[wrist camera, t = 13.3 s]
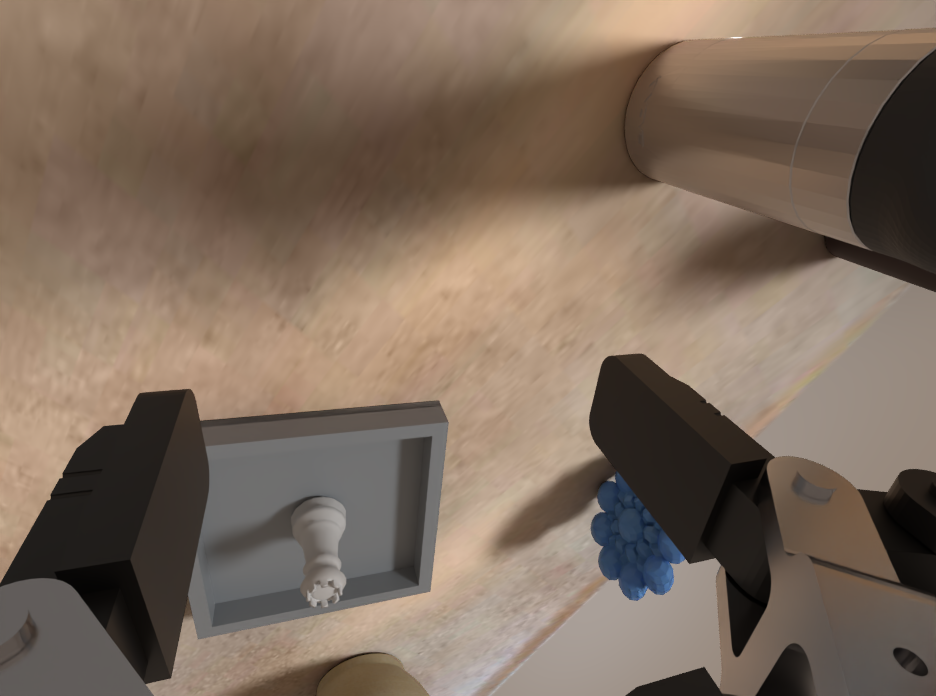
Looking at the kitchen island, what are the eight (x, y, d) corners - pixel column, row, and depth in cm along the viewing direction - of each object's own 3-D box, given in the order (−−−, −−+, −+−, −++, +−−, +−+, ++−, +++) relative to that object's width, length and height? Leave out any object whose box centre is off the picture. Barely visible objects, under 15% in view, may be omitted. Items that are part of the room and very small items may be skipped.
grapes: (599, 530, 58) (665, 629, 48) (556, 519, 54) (617, 623, 44) (663, 452, 54) (748, 541, 44) (621, 436, 51) (703, 527, 41)
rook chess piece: (311, 540, 44) (316, 625, 37) (278, 513, 42) (277, 599, 35) (355, 513, 44) (368, 593, 37) (325, 484, 42) (333, 564, 35)
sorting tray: (438, 400, 42) (448, 422, 40) (423, 565, 51) (430, 591, 49) (164, 424, 36) (155, 451, 33) (202, 607, 45) (198, 639, 43)
